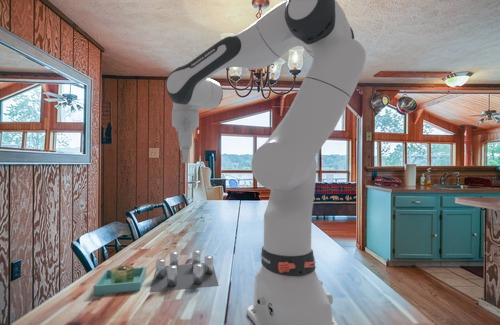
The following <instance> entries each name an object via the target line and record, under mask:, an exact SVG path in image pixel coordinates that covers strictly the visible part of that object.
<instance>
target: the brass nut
mask: <svg viewBox="0 0 500 325" xmlns="http://www.w3.org/2000/svg"><path fill="white" fill-rule="evenodd" d="M134 268H135V267H134V266H133V265H131V264H120V265H117V266H115V267H113V268H111V269H110V270H111V284H115V283H127V282H134Z"/></svg>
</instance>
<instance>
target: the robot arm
mask: <svg viewBox="0 0 500 325" xmlns="http://www.w3.org/2000/svg"><path fill="white" fill-rule="evenodd" d="M345 13H346V12H345V11H344V10H343V8H342V7H341V5H340V4H339V3H338V1H337V0H284V1H282V2H280V3H279V4H277V5H275V6H274V7H273V8H271V9H270V10H269V11H267V12H266V13H265V14H263V15H262V16H261V17H259V18H258V19H257V20H256V21H255V22H254V23H252V24H251V25H250V26H249V27H247V28H246V29H243V30H241V31H240V32H238V33H236V34H233V35H230V36H226V37H224V38H222V39H220V40H219V41H218V42H216V43H215V44H212V45H211V46H210V47H209V48H207V49H206V50H204V51H203V52H202V53H200V54H199V55H198V56H196V57H195V58H193V59H192V60H191V61H189V62H187V63H186V64H184V65H181V66H178V67H177V68H175V69H173V71H171V72H170V73H169V75H167V78H166V82H165V89H166V93H167V95H168V96H169V98H170V100H171V101H172V110H171V126H172V127H173V128H174V129H175V132H177V137H178V138H177V139H178V144H179V146H178V147H179V150H180V151H181V157H182V158H181V159H182V161H181V162H182V164H187V163H189V155H190V150H191V148H192V146H193V133H195V132H196V129H198V128H199V126H200V125H199V124H200V110H201V109H202V110H215V109H217V108H218V107H219V106H220V104H221V103H222V101H223V97H224V96H223V94H224V93H223V87H222V85H221V84H220V83H219V81H216V80H214V79H212V78H211V77H212V76H213V75H216V74H217V73H218V72H219V71H221V70H224V69H227V68H245V69H252V70H261V69H262V70H263V69H264V68H267V67H269V66H271V65H272V64H274V63H275V62H277V60H279V59H281V58H282V57H283V56H284V55H286V54H287V53H288V52H289V51H290V50H292V49H293V48H295V47H302V49H303V50H305V51H306V53H308V54H309V56H311V57H312V61H311V65H310V67H309V69H308V71H307V73H306V75H305V77H304V79H303V81H302V83H301V85H300V86H299V89H298V91H297V93H296V95H295V96H294V99H293V101H292V102H291V105H290V107H289V109H288V110H287V112H286V113H285V116H284V117H283V118H282V119H281V121H280V122H279V123H278V125H277V126H276V128H275V129H274V131H273V132H272V133H271V135H269V138H268V139H267V140H266V141H265V142H264V143H263V144H262V145H261V146H259V147H258V148H257V149H256V151H255V152H254V154H253V155H252V159H251V162H250V163H251V173H252V175H253V178H254V179H255V180H256V182H257V183H258V184H259V185H261V186H262V187H263V188H266V189H268V190H270V193H269V198H268V202H267V204H266V205H267V206H266V208H265V211H264V214H263V246H261V252H260V258H261V260H260V262H261V267H260V269H259V271H258V272H256V274H255V276H254V279H255V280H254V287H253V288H254V289H253V290H254V291H253V304H251V305H249V306H248V307H247V308H246V315H247V316H248V317H249V318H250V320H252V322H253V324H254V325H339V324H338V322H337V321H336V319H335V317H334V316H333V311H332V305H333V302H334V301H333V294H332V293H331V292H325V289H324V287H323V284H324V283H323V281H322V280H321V279H320V278H319V277H318V274H317V273H316V268H317V265H316V264H317V263H316V261H315V260H316V259H315V255H314V250H313V249H312V222H313V221H312V216H313V209H314V199H315V190H316V180H317V169H318V168H317V167H318V163H317V159H316V157H317V155H318V154H319V152H320V151H321V149H322V147H323V145H324V144H325V143H326V142H327V140H328V139H329V137H330V136H331V135H332V134H333V132H334V131H335V129H336V127H337V125H338V123H339V121H340V119H341V117H342V115H343V113H344V111H345V110H346V108H347V106H348V104H349V103H350V100H351V98H352V97H353V94H354V93H355V90H356V89H357V86H358V84H359V81H360V77H361V76H362V73H363V69H364V67H365V63H366V59H367V54H366V50H365V48H364V46H363V45H362V44H361V43H360V42H359V41H358V40H356V39H355V33H354V31H353V28H352V27H351V26H350V24H349V21H348V19H347V17H346V16H347V15H346V14H345Z"/></svg>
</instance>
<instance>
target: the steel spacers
mask: <svg viewBox="0 0 500 325" xmlns="http://www.w3.org/2000/svg"><path fill="white" fill-rule="evenodd" d="M191 254H192V255H191V256H192V257H191V259H192V261H191V264H192V268H193V284H194V285H200V284H202V283H203V264H201V250H198V249H196V250H192V252H191ZM166 262H167V261H166V259H165V258H158V259H156V261H155V271H156V279H163V278H165V266H166ZM203 263H204V274H205V275H212V274H213V267H214V256H213V255H206V256H204V262H203ZM178 265H179V252H178V251H171V252H169V265H167V266H168V267H167V287H175V286H177V269H178Z"/></svg>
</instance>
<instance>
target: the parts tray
mask: <svg viewBox="0 0 500 325" xmlns="http://www.w3.org/2000/svg"><path fill="white" fill-rule="evenodd" d="M146 275H147V267H146V266H141V267H140V266H139V267H134V282H127V283H115V284H111V269H106V270H105V271H104V272H103V273H102V275H101V276H100V277H99V279H98V280H97V281H96V283H95V284H94V285H93V297H99V296H100V297H101V296H104V295H106V294H108V295H109V294H118V293H128V292H139V291H141V289H142V287H143V283H144V281H145V278H146Z"/></svg>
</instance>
